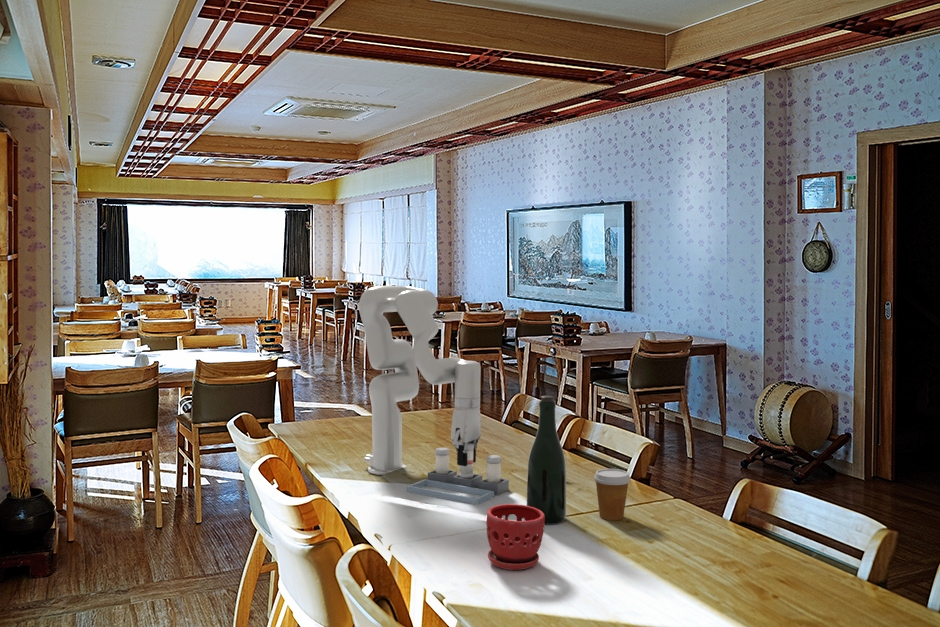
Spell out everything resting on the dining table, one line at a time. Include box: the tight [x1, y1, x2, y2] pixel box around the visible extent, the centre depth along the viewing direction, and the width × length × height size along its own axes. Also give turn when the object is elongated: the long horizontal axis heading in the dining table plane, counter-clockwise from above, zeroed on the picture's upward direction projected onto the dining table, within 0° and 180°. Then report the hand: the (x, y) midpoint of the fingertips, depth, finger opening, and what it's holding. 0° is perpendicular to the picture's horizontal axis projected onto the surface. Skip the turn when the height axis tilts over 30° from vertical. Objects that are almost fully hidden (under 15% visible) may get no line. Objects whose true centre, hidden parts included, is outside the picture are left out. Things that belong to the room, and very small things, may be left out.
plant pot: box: [486, 503, 545, 571], centre depth 185 cm, size 13×13×12 cm
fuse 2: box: [486, 454, 502, 484], centre depth 237 cm, size 4×4×10 cm
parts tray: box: [406, 478, 495, 506], centre depth 234 cm, size 24×9×3 cm, turn 58°
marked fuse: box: [458, 443, 474, 479], centre depth 242 cm, size 4×4×10 cm
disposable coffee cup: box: [593, 468, 631, 521], centre depth 218 cm, size 10×10×12 cm
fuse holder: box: [427, 469, 511, 497], centre depth 242 cm, size 25×8×4 cm, turn 58°
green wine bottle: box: [526, 395, 567, 525], centre depth 215 cm, size 10×10×33 cm
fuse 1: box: [434, 447, 450, 475], centre depth 247 cm, size 4×4×10 cm
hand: (466, 463), depth 242 cm, fingers closed on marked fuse, 4 cm apart
